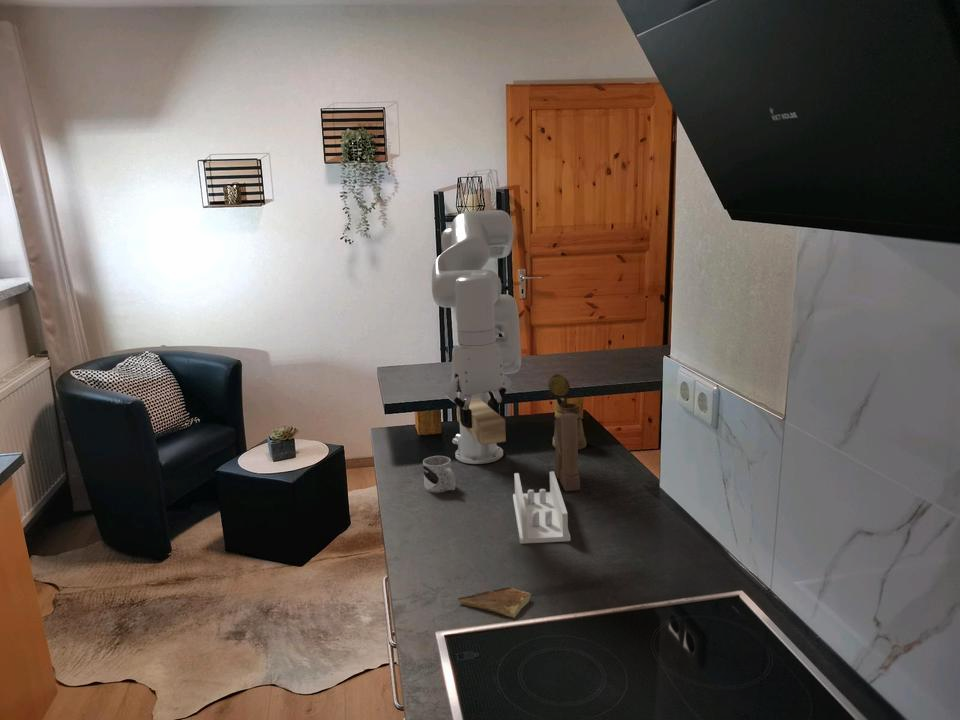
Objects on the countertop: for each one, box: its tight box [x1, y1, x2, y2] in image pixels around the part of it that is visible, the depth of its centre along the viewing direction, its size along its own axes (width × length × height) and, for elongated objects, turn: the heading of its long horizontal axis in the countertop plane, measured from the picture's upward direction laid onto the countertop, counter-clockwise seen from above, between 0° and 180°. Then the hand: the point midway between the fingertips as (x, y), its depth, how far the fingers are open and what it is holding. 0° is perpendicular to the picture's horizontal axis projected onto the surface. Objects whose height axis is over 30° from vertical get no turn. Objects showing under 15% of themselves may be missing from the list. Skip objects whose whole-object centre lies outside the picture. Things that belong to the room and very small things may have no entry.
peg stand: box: [512, 470, 571, 544], centre depth 159 cm, size 22×10×6 cm, turn 2°
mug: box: [422, 455, 457, 494], centre depth 176 cm, size 10×7×7 cm, turn 39°
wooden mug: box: [548, 373, 587, 451], centre depth 202 cm, size 9×14×18 cm, turn 16°
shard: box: [457, 586, 531, 619], centre depth 129 cm, size 11×8×2 cm
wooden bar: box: [456, 398, 507, 445], centre depth 153 cm, size 16×5×4 cm, turn 19°
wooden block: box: [554, 413, 581, 492], centre depth 175 cm, size 4×11×18 cm, turn 6°
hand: (480, 422), depth 153 cm, fingers closed on wooden bar, 5 cm apart
